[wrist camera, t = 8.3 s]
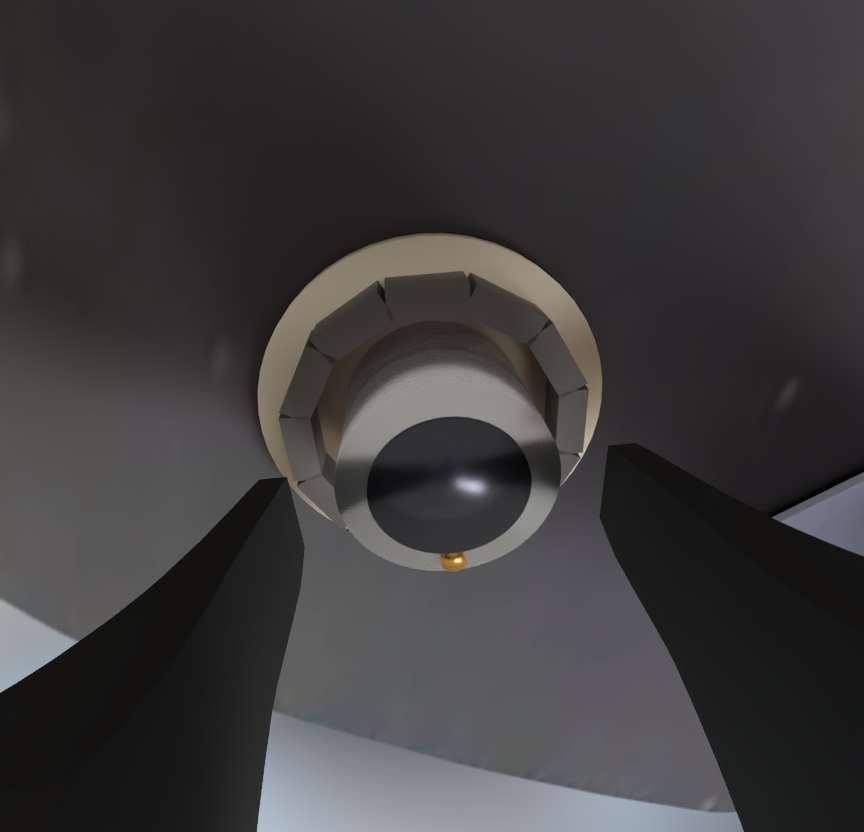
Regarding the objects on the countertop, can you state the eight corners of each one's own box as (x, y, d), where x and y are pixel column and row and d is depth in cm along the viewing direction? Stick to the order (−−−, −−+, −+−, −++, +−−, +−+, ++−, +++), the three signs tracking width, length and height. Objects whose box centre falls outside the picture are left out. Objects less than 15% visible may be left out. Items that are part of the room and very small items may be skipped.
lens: (521, 313, 13) (571, 377, 10) (517, 467, 16) (556, 564, 12) (334, 329, 13) (315, 400, 10) (359, 482, 16) (351, 585, 12)
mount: (644, 435, 16) (671, 466, 15) (394, 574, 19) (395, 615, 17) (490, 146, 12) (505, 147, 10) (186, 371, 14) (161, 400, 13)
